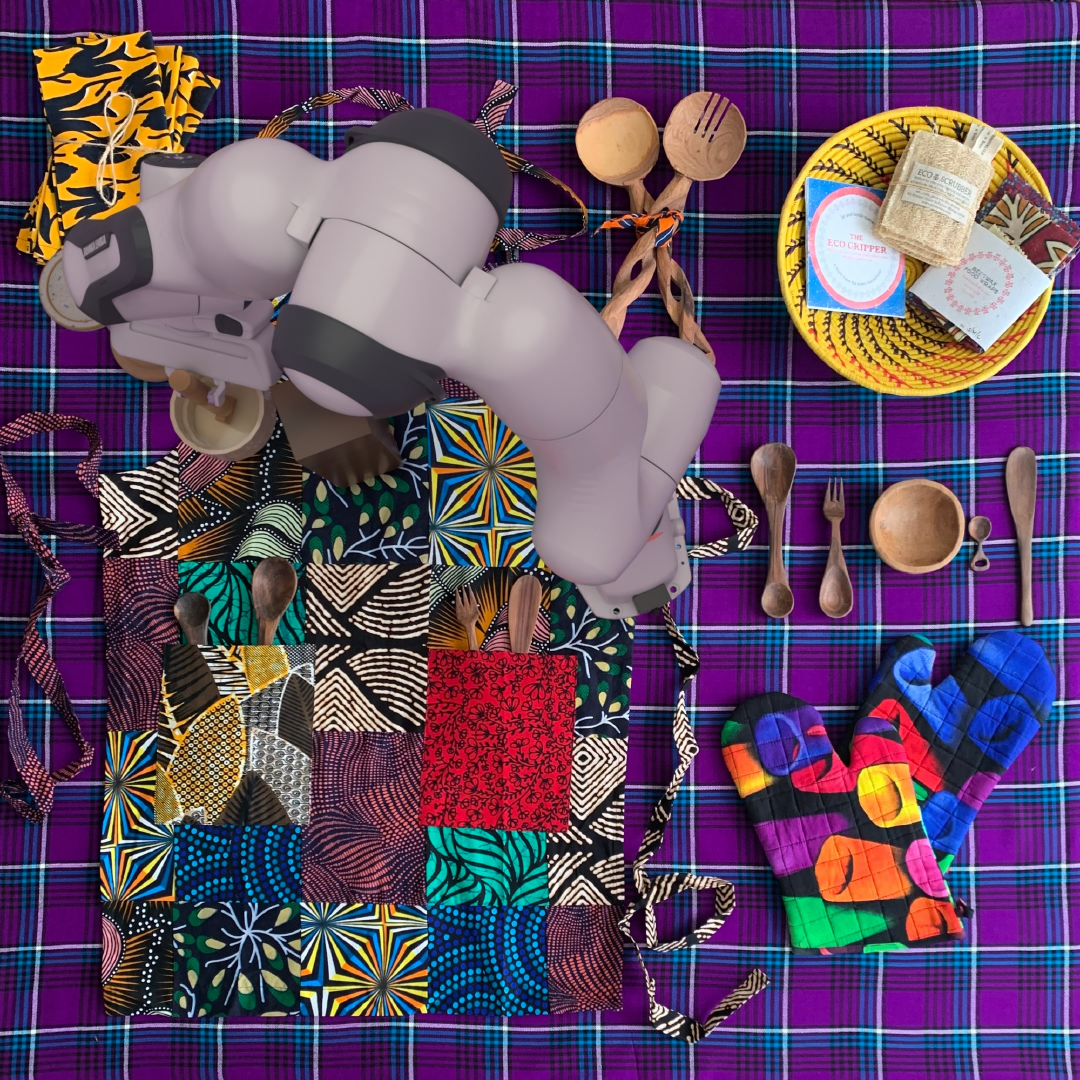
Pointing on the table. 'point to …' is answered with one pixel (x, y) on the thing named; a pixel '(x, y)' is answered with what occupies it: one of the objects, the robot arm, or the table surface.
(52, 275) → the candle holder
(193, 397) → the stick
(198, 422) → the bowl
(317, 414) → the stand
